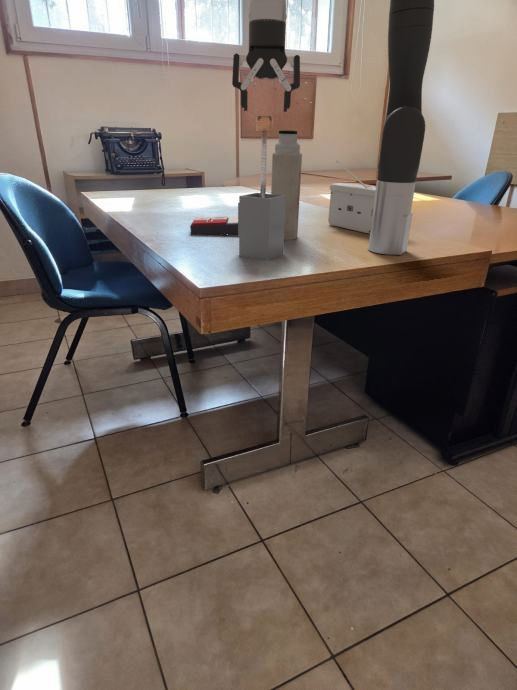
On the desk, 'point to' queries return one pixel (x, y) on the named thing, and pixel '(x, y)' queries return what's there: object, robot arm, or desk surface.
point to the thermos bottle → (288, 178)
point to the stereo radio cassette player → (351, 205)
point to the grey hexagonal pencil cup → (261, 225)
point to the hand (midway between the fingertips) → (265, 111)
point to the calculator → (214, 226)
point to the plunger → (264, 147)
